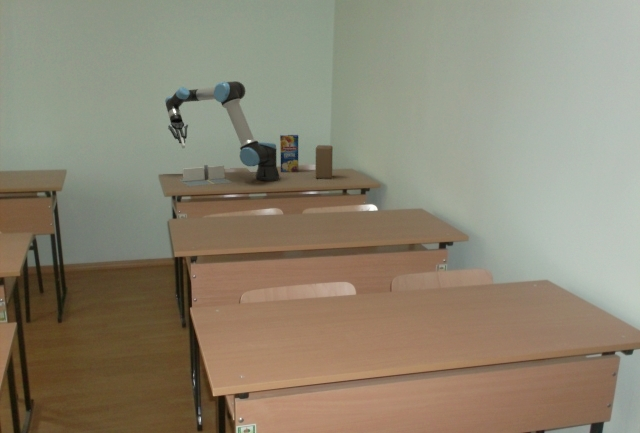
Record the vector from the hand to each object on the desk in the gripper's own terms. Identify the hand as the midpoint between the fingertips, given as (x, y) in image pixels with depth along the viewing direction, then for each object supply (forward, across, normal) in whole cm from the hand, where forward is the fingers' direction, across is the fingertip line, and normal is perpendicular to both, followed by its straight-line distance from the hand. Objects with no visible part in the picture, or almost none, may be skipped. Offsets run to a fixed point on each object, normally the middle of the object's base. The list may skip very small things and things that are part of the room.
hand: (183, 146), depth 393 cm
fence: (+24, -15, -3) cm, 28 cm away
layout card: (+27, -8, -1) cm, 28 cm away
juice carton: (+19, -70, -9) cm, 73 cm away
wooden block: (+40, -81, +12) cm, 91 cm away
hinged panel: (+23, -2, -3) cm, 24 cm away
